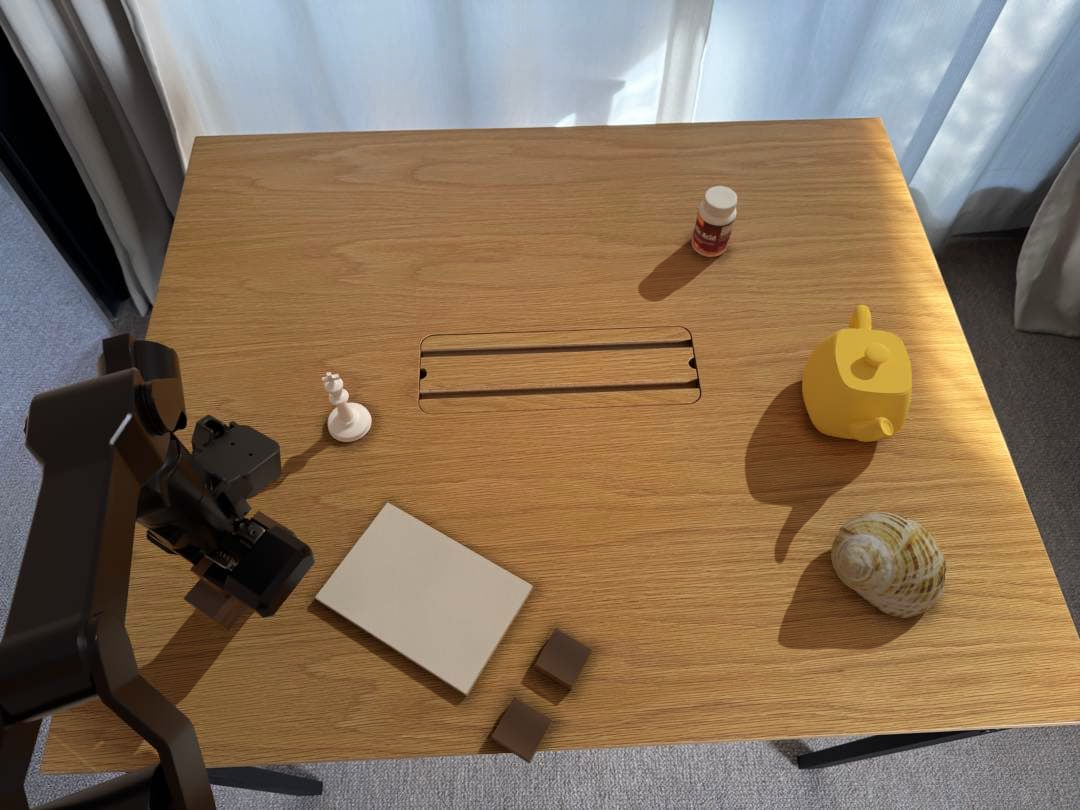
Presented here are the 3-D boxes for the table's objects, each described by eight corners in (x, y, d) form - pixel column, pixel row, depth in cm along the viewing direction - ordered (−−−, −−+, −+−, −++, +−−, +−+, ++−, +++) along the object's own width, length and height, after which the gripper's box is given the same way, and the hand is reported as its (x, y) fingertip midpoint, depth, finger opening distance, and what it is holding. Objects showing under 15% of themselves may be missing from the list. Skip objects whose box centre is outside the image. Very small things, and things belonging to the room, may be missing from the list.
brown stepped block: (231, 633, 70) (201, 609, 64) (195, 608, 71) (163, 583, 65) (302, 544, 75) (281, 514, 69) (268, 522, 76) (244, 491, 70)
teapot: (905, 486, 83) (949, 437, 74) (801, 477, 83) (832, 426, 74) (884, 352, 92) (920, 293, 83) (791, 344, 93) (817, 285, 84)
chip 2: (571, 690, 72) (571, 687, 71) (534, 668, 73) (534, 664, 72) (591, 653, 74) (592, 649, 72) (555, 632, 75) (555, 627, 73)
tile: (467, 696, 72) (466, 694, 71) (316, 600, 77) (314, 597, 76) (533, 589, 77) (533, 585, 76) (388, 505, 82) (387, 501, 81)
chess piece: (325, 411, 88) (301, 361, 80) (367, 400, 89) (348, 349, 81) (331, 447, 86) (308, 399, 77) (375, 435, 87) (356, 386, 78)
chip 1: (529, 764, 69) (529, 761, 67) (492, 739, 70) (491, 736, 68) (552, 722, 70) (552, 719, 69) (515, 699, 71) (514, 696, 70)
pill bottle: (683, 244, 102) (693, 196, 95) (707, 226, 104) (719, 178, 96) (710, 263, 100) (723, 216, 93) (734, 245, 102) (748, 197, 95)
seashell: (964, 599, 75) (968, 586, 67) (869, 634, 78) (860, 627, 70) (911, 506, 80) (908, 483, 72) (823, 542, 83) (810, 525, 74)
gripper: (334, 463, 58) (373, 542, 71) (156, 361, 63) (224, 452, 77) (232, 586, 53) (295, 646, 66) (48, 464, 58) (140, 543, 71)
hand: (238, 564), depth 70 cm, fingers closed on brown stepped block, 2 cm apart
